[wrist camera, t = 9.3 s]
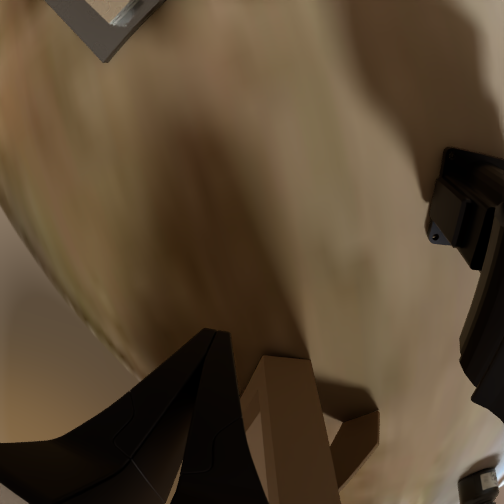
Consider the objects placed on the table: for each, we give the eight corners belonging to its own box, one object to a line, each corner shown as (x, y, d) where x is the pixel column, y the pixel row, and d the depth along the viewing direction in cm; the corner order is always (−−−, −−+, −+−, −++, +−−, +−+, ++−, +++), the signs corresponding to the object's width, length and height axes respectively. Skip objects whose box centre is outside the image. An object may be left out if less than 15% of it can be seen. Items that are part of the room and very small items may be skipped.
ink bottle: (497, 470, 39) (504, 514, 29) (463, 486, 43) (467, 529, 33) (491, 463, 37) (499, 513, 27) (452, 481, 41) (457, 530, 31)
